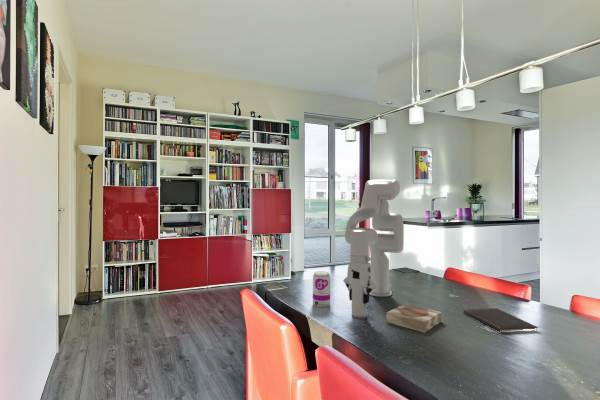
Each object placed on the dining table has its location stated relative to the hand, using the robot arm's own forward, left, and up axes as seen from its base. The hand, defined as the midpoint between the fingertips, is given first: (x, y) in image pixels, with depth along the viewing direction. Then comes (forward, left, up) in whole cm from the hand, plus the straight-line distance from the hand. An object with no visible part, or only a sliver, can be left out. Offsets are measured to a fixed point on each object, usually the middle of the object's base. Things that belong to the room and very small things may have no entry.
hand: (358, 300), depth 152 cm
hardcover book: (-34, +45, -8) cm, 57 cm away
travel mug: (0, 0, -7) cm, 7 cm away
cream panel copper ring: (-10, +20, -7) cm, 23 cm away
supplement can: (-2, -22, -7) cm, 23 cm away
